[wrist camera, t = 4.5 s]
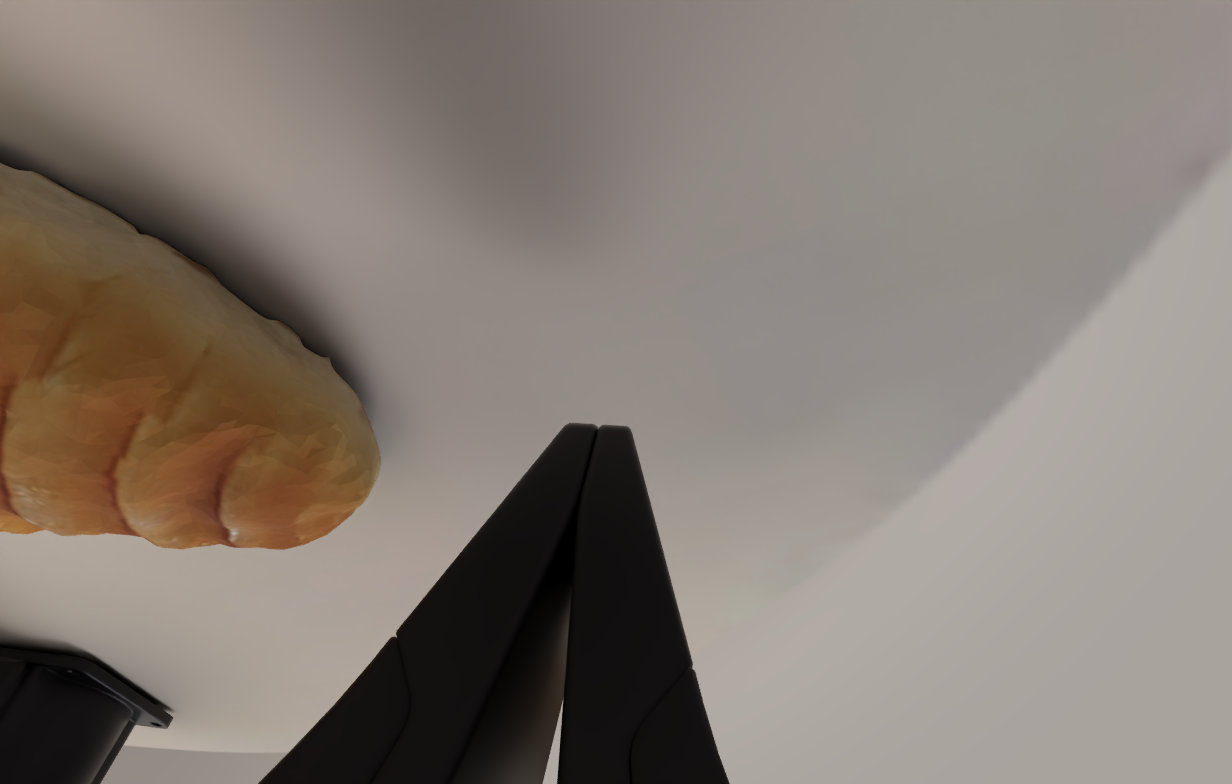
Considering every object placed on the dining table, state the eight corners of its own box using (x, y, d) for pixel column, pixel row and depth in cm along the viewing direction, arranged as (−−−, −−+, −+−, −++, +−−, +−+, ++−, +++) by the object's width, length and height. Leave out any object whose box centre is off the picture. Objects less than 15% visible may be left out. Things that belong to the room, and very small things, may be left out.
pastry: (443, 326, 11) (343, 534, 8) (364, 515, 15) (284, 686, 13) (-269, 8, 8) (-726, 156, 6) (-109, 343, 13) (-323, 508, 10)
